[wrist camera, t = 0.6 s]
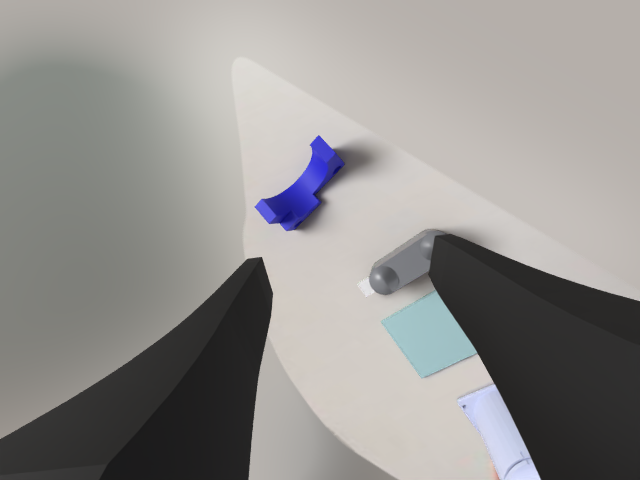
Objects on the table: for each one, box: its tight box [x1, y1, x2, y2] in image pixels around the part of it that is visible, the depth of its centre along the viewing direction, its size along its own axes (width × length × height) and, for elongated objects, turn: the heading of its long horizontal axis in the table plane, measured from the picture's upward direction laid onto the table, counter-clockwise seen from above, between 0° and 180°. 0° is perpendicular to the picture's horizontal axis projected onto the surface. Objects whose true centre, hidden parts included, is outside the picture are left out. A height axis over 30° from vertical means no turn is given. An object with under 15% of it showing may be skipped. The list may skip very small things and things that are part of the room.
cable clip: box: [255, 135, 345, 231], centre depth 31 cm, size 12×4×6 cm, turn 133°
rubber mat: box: [381, 290, 477, 378], centre depth 30 cm, size 9×16×1 cm, turn 128°
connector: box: [357, 229, 446, 297], centre depth 29 cm, size 4×12×4 cm, turn 128°
